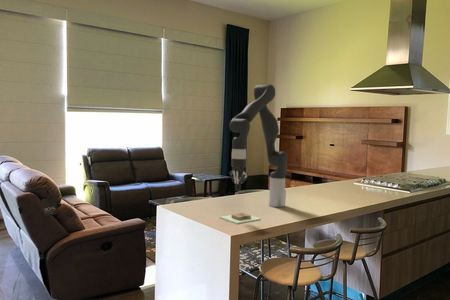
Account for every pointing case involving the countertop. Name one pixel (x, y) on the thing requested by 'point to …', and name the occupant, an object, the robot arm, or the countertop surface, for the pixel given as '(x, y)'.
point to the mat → (239, 220)
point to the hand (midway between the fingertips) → (237, 190)
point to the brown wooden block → (241, 216)
